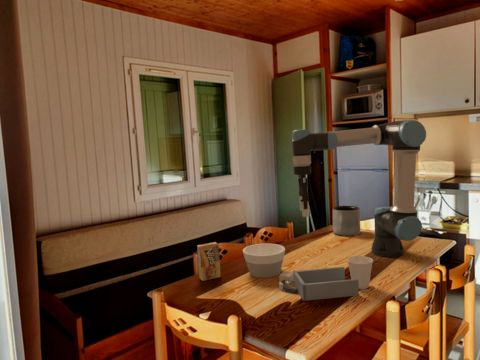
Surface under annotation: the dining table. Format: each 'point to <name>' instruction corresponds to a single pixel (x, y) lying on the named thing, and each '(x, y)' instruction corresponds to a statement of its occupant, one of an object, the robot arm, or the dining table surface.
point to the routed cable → (289, 288)
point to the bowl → (264, 259)
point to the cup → (360, 270)
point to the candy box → (208, 261)
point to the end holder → (324, 283)
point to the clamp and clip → (287, 277)
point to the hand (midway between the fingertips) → (304, 213)
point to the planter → (346, 220)
